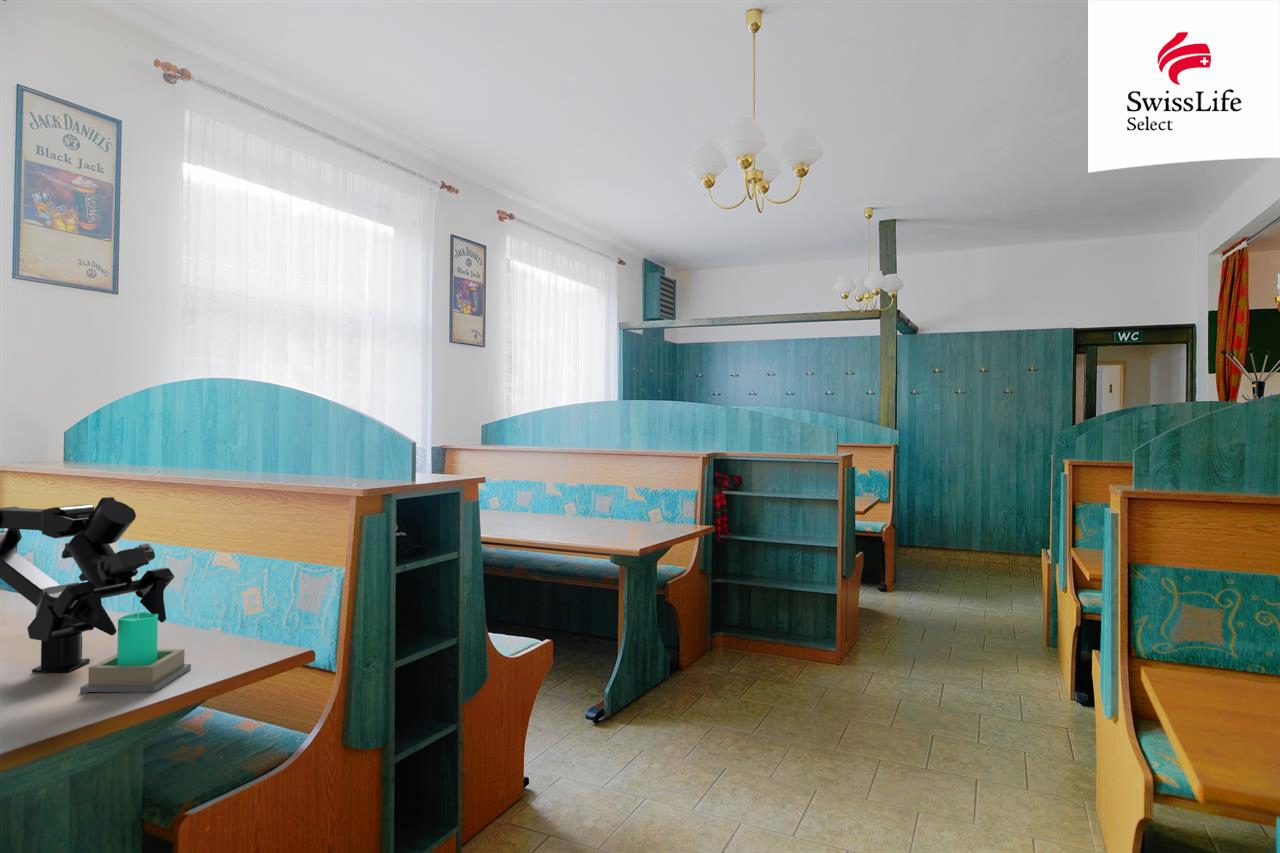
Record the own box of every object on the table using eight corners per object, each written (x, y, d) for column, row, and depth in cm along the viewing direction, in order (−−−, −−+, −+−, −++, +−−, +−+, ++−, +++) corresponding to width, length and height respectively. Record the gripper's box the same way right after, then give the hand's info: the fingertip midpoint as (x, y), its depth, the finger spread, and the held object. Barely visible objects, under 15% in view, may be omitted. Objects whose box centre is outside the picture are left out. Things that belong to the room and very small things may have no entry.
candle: (135, 682, 128) (136, 613, 128) (108, 678, 130) (109, 610, 130) (165, 671, 134) (166, 605, 134) (139, 668, 136) (140, 602, 136)
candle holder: (154, 692, 126) (155, 668, 126) (80, 693, 125) (80, 669, 125) (190, 669, 138) (191, 647, 138) (122, 670, 137) (123, 648, 137)
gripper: (65, 538, 125) (111, 610, 121) (168, 525, 142) (210, 587, 139) (33, 581, 127) (76, 652, 124) (137, 563, 145) (178, 625, 141)
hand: (140, 627), depth 132 cm, fingers open, 9 cm apart
